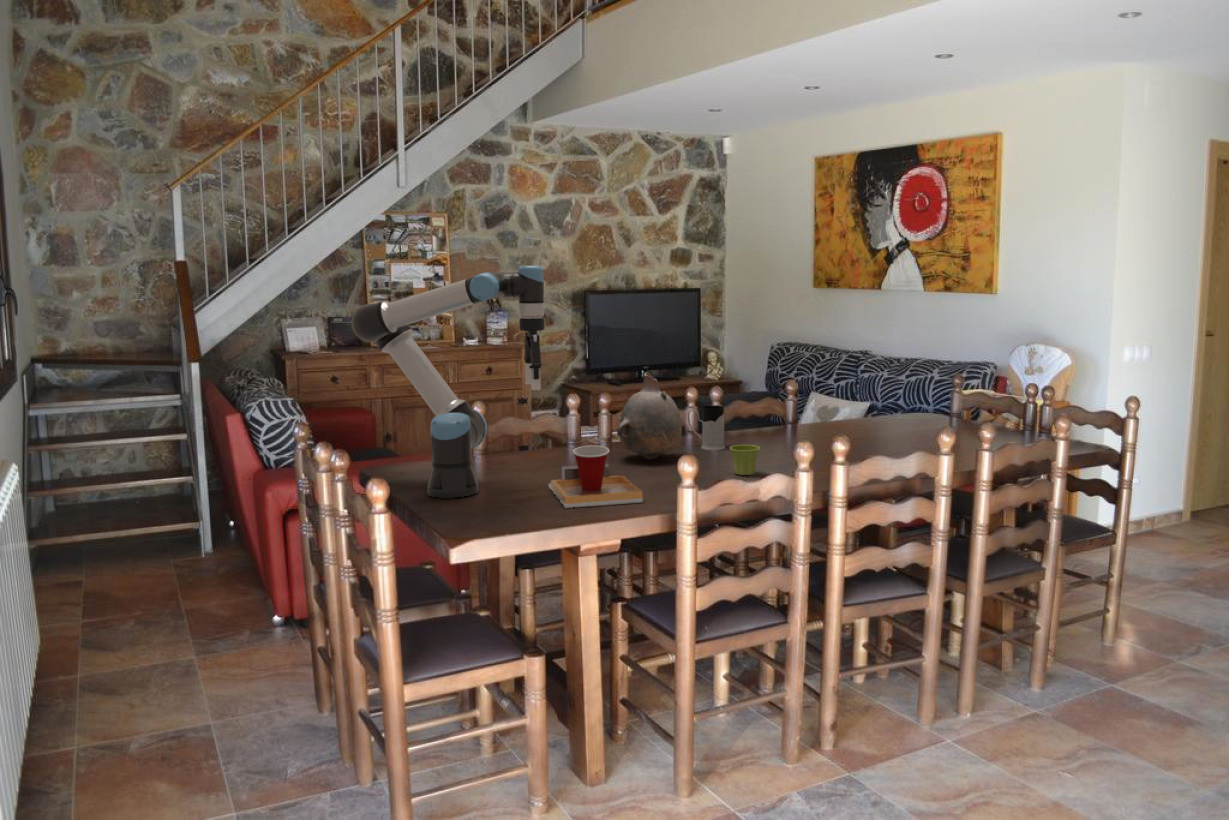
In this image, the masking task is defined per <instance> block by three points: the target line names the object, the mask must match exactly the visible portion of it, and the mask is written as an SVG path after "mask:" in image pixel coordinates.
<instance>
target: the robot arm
mask: <svg viewBox="0 0 1229 820" xmlns="http://www.w3.org/2000/svg"><path fill="white" fill-rule="evenodd" d="M517 269H518V270H517V271H515V272H495V271H489V272H488V271H487V272H482V273H479V274H476V275H474V276H473V277H469V278H465V279H462V280H460V281H459V280H458V281H456V282H452V283H449V284H446V285H444V286H443V285H442V286H440V287H437V288H436V287H435V288H433V289H430V290H426V291H424V292H420V293H417V294H414V295H411V296H408V297H404V298H401V299H399V300H396V301H392V302H391V301H386V300H384V301H378V302H375V303H367V304H364V305H362V306H359V307H358V308H357V309H356V310H355V312H353V314H352V318H351V329H352V331H353V333H354V334H355V336H356V337H358V339H360V340H362V341H364V342H366V343H374V344H375V345H376V346H377V347H378V349H379V351H381V353H385V354H389V355H390V356H391V358H392V359H393V361H394V362H395V363H396V365H397V366H398V367H399V369H400V370H401V372H402V373H403V374H404V375H405V376H406V377H407V379H408V381H410V383H411V385H412V386H413V387H414V389H415V390H416V392H417V393H418V394H419V396H421V398H422V399H423V400H424V402H425V403H426V404H427V406H428V407H429V409H430V410H431V411H432V413H434V415H435V416H434V417H432V418H431V421H430V429H429V432H430V443H431V462H432V463H431V464H432V465H431V466H432V469H431V473H430V477H429V480H428V484H427V496H429V497H431V496H432V497H431V498H435V497H438V498H437V499H455V498H454V497H462V498H465V497H464V496H468V497H471V496H470V495H472V496H474V495H473V494H475V495H477V494H479V492H478V491H479V483H478V480H477V476H476V475H475V472H474V469H473V467H472V466H473V465H472V463H473V462H472V449H476V448H477V447H479V446H480V445H481V444H482V443H483V441H484V439H485V438H486V435H487V432H488V425H487V421H486V419H485V417H484V416H483V415H482V413H481V412H479V411H477V410H475V409H472V407H471V406H470V404H469V403H468V401H467V400H464V399H460V398H458V397H457V395H456V394H455V393H454V392H453V391H452V389H451V387H449V385H448V383H447V382H446V380H445V379H444V378H443V376H442V375H441V374H440V373H439V371H438V369H436V368H435V366H434V364H433V363H432V362H431V361H430V360H429V358H428V357H427V355H426V354H425V353H424V352H423V351H422V349H421V348H420V346H419V345H418V343H417V342H416V340H415V339H414V338H413V332H414V330H413V329H412V328H411V326H410V325H411V324H414V323H417V322H420V321H423V320H426V319H430V318H433V317H437V316H440V315H442V314H445V313H449V312H453V311H456V310H459V309H462V308H466V307H467V306H468V307H469V306H472V305H474V304H480V303H483V302H485V301H488V300H492V299H493V300H494V299H500V298H501V299H502V298H503V299H504V298H518V316H519V317H520V318H519V320H518V321H519V325H518V327H519V330H520V331H523V332H524V357H523V360H524V362H525V363H524V368H525V385H526V386H527V385H530V387H531V389H530V390H531V391H541V387H542V385H541V384H542V383H541V380H542V379H541V368H542V365H543V364H542V360H541V346H540V334H538V332H541V331H544V330H545V318H544V315H545V310H547V308H546V306H547V305H545V301H544V300H545V298H544V297H545V295H544V294H545V280H544V279H545V278H544V269H543V267H542V266H541V265H519V266H518V268H517ZM476 493H477V494H476Z"/></svg>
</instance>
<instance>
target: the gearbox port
mask: <svg viewBox="0 0 1229 820" xmlns="http://www.w3.org/2000/svg"><path fill="white" fill-rule="evenodd" d="M610 470H611V467H610V465H609V464H608V463H605V470H604V476H603V481H602V487H601V489H600V490H596V491H587V490H583V489H582V487H581V481H580V477H579V471H578V465H567V466H566V465H565V466H561V479H551V481H550V482H549V483H548V489H549V490H550V489H551V490H552V491H553V492H552V491H551V490H550V491H551V492H552V493H553V495H554V494H555V495H556V496H555V495H554V496H555V497H556V499H559V500H560V501H559V500H558V501H559V502H560V503H561V505H562V504H563V505H562V506H563V507H564V508H565V509H573V507H575V508H584V507H585V508H588V507H599V506H613V505H614V506H615V505H624V504H639V503H640V504H641V503H644V501H643V500H644V498H643V490H641V489H640V488H639V487H638V486H637V485H636V484H634V483H633V482H632V481H631V480H629V479H628V478H627V476H625V475H623V474H622V475H611V471H610ZM587 506H588V507H587Z"/></svg>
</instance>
